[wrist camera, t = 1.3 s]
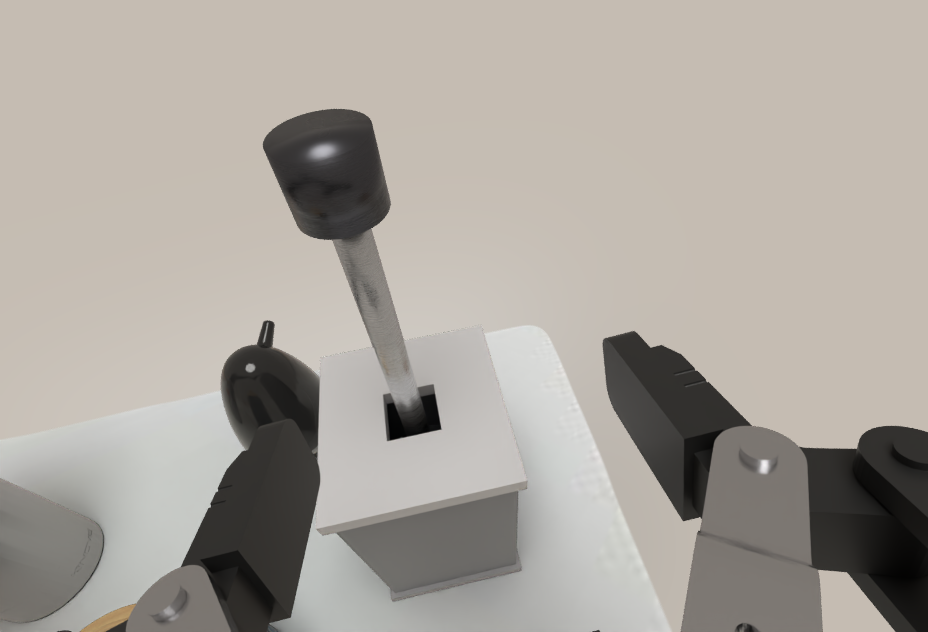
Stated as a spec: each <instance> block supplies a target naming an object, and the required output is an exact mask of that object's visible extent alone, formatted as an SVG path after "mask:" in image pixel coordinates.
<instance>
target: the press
mask: <svg viewBox="0 0 928 632" xmlns="http://www.w3.org/2000/svg"><path fill="white" fill-rule="evenodd" d="M404 343H405V346H406V350H407V353H408V357H409V360H410V363H411V367H412V370H413V374H414V377H415V381H416V384H417V388H418V391H419V394H420V398H421V401H422V405H423V408H424V412H425V415H426V418H427V422H428V425H441V429H442V430H437V431H433V432H428V433H423V434H419V435H414V436H410V437H405V438H401V437H402V436H403V435H405V434H406V432H405V430H404V427H403V425H402V422H401V419H400V417H399V414H398V411H397V409H396V406H395V404H394V401H393V398H392V396H391V393H390V390H389V388H388V385H387V383H386V380H385V377H384V375H383V372H382V369H381V367H380V364H379V362H378V359H377V356H376V354H375V351H374V348H373V347H369V348H365V349H359V350H354V351H349V352H344V353H340V354H335V355H330V356H325V357H321V358H320V393H319V429H318V465H319V469H320V487H319V492H318V496H317V503H316V530H317V531H318V532H319V533H321V534H322V535H328V534H332V533H337V534H338V535H339V536H340V537H341V538H342V539H343V540H344V541H345V542H346V543H347V544H348V545H349V546H350V547H351V548H352V550H353V551H354V552H355V553H356V554H357V555H358V556H359V557H360V558H361V559H362V560H363V561H364V562H365V563H366V564H367V565H368V566H369V567H370V568H371V569H372V570H373V571H374V572H375V573H376V574H377V575H378V576H379V577H380V578H381V579H382V580H383V581H384V582H385V583H386V584H387V585H388V586H389V587H390V590H391V600H392V601H397V600H402V599H406V598H410V597H414V596H418V595H422V594H426V593H430V592H435V591H439V590H443V589H447V588H451V587H455V586H459V585H463V584H467V583H472V582H476V581H480V580H484V579H488V578H492V577H496V576H500V575H505V574H509V573H513V572H517V571H521V569H522V568H521V564H520V560H519V556H518V552H517V513H518V491H519V490H523V489H527V477H526V474H525V470H524V467H523V464H522V460H521V457H520V454H519V450H518V447H517V443H516V440H515V437H514V433H513V430H512V426H511V423H510V420H509V416H508V413H507V410H506V406H505V403H504V399H503V396H502V393H501V389H500V386H499V382H498V379H497V376H496V372H495V369H494V366H493V362H492V359H491V355H490V352H489V349H488V345H487V342H486V338H485V335H484V332H483V328H482V325H478V326H473V327H468V328H463V329H458V330H453V331H448V332H443V333H439V334H434V335H429V336H424V337H419V338H414V339H409V340H404Z"/></svg>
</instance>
